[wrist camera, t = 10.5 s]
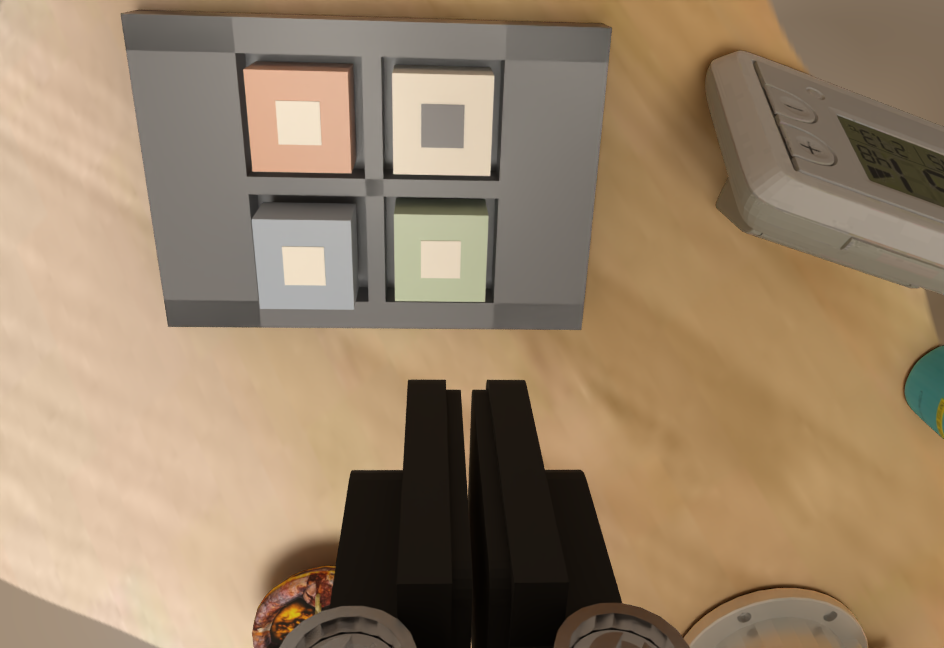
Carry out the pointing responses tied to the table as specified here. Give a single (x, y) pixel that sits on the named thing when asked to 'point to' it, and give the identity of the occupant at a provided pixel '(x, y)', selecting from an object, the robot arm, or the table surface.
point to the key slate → (306, 255)
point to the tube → (928, 389)
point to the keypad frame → (369, 161)
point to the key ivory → (442, 120)
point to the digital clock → (829, 170)
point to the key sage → (440, 249)
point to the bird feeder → (292, 605)
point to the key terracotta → (301, 116)
